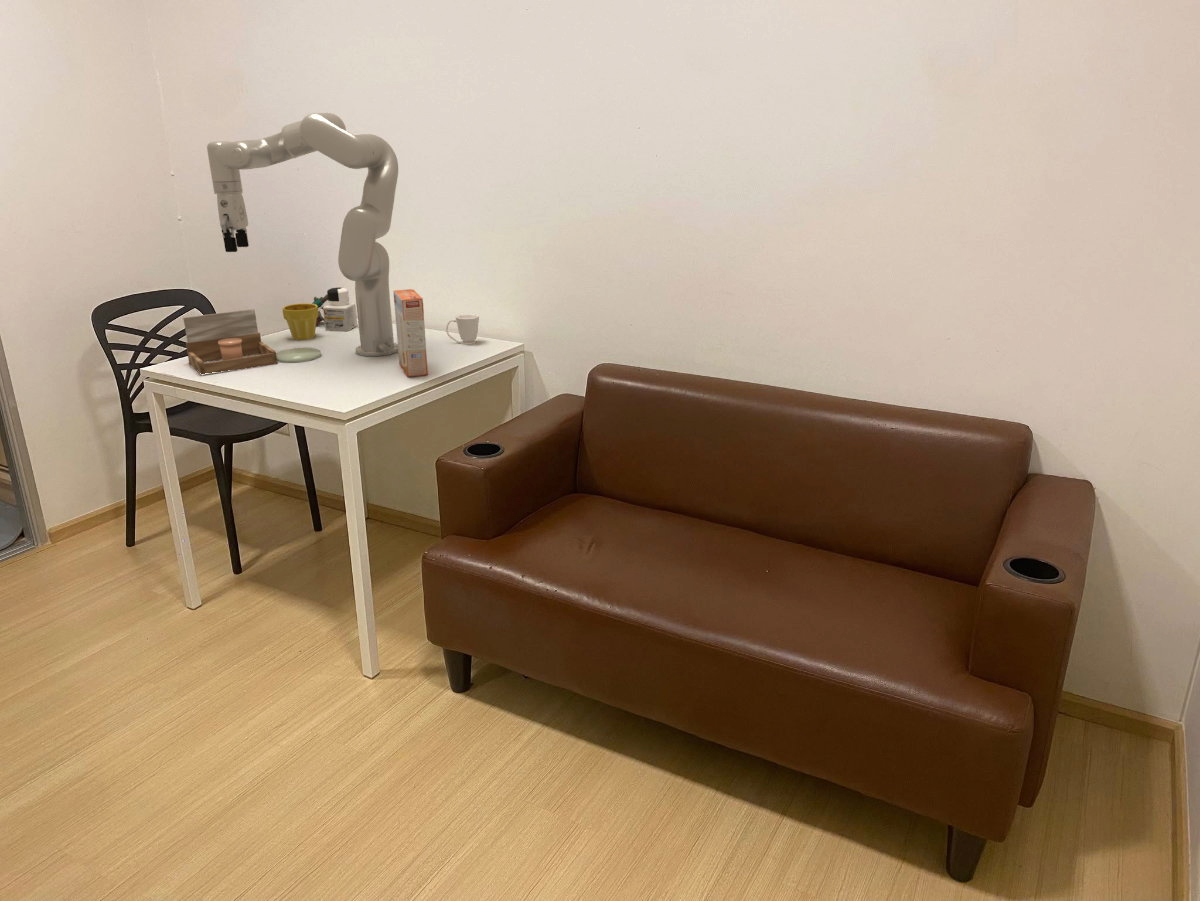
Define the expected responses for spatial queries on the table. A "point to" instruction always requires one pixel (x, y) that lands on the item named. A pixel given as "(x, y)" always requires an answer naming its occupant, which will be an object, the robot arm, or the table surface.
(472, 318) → the cup
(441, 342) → the table surface
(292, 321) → the plant pot
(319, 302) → the binoculars
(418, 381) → the table surface
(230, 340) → the clay pot
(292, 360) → the pale green disc
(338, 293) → the container
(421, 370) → the cracker box
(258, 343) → the wooden drawer
